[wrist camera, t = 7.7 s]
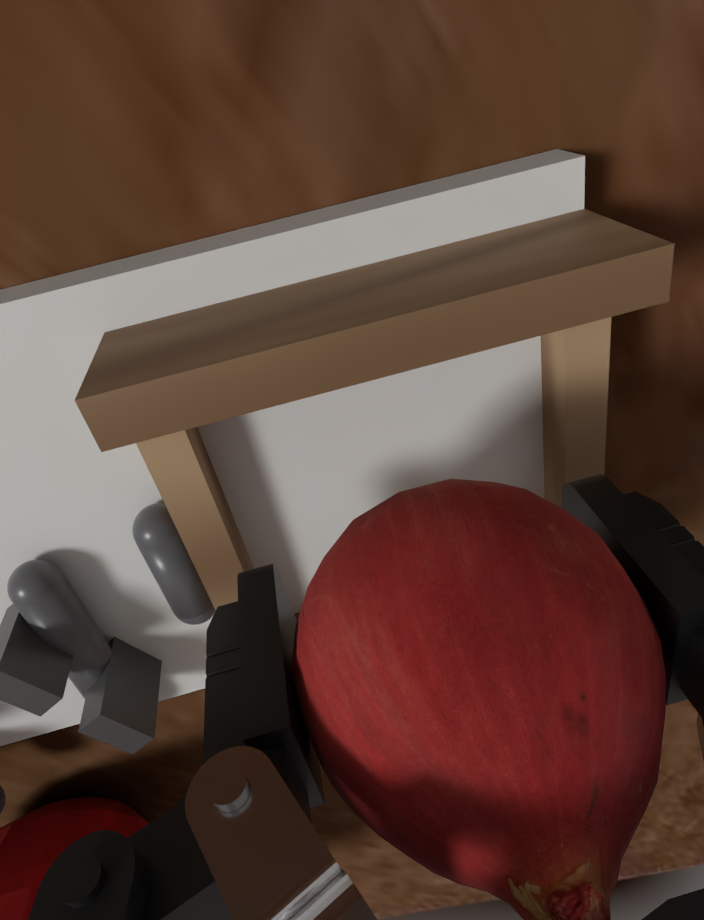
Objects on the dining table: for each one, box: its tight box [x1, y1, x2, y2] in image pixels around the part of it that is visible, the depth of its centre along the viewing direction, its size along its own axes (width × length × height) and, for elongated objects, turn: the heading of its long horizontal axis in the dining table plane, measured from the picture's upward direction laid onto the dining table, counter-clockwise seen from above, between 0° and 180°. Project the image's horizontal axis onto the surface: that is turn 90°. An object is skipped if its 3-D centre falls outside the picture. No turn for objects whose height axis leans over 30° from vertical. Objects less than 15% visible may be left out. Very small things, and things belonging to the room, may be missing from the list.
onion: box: [291, 479, 666, 920], centre depth 10 cm, size 6×6×8 cm
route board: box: [0, 149, 585, 813], centre depth 15 cm, size 14×24×4 cm, turn 102°
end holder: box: [74, 209, 675, 621], centre depth 14 cm, size 10×10×3 cm
